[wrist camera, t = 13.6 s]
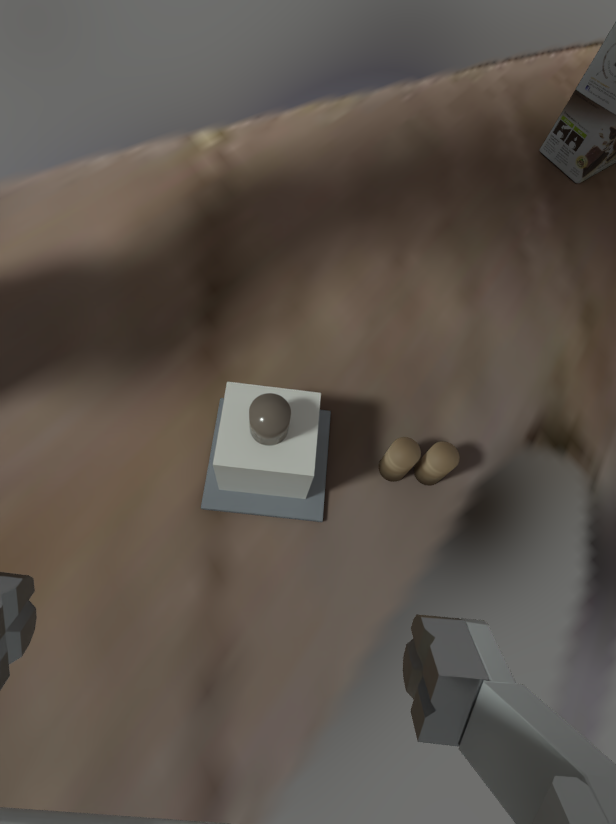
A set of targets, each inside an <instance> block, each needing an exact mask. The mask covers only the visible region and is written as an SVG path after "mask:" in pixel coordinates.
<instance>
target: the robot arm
mask: <svg viewBox="0 0 616 824" xmlns="http://www.w3.org/2000/svg"><path fill="white" fill-rule="evenodd" d="M34 591H35V589H34V580H33V578H32V577H30V576H29V575H21V574H13V573H5V572H0V690H1V689H2V687H3V685H4V684H5V682H6V681H7V679H8V678H9V676H10V672H9V664H11V663H12V662H14V661H15V660H17V659H19V658H20V657H22V656H23V654H24V652H25V651H26V649H27V647H28V646H29V644H30V641H31V638H32V636H33V633H34V630H35V625H36V608H35V606H34V605H33V604H32V603H31V602H30V601H29V599H30V597H31V596H32V594H33V593H34ZM411 631H412V635H413V639H412V640H411V641H410V642H408V643H407V644H406V648H405V652H404V657H403V677H404V683H405V688H406V691H407V693H408V694H409V695H410V696H411V697H412V698H413V699H414V701H413V704H412V708H411V715H412V719H413V723H414V728H415V732H416V736H417V740H418V742H424V743H433V744H442V745H450V746H459V750H460V751H461V753H462V754H463V755H464V756H465V758H466V759H467V760H468V762H469V763H470V764H471V766H472V767H473V768H474V770H475V771H476V772H477V773H478V775H479V776H480V777H481V779H482V780H483V781H484V783H485V784H486V785H487V787H488V788H489V789H490V791H491V792H492V793H493V794H494V796H495V797H496V798H497V800H498V801H499V802H500V804H501V805H502V806H503V808H504V809H505V810H506V812H507V813H508V814H509V815H510V817H511V818H512V819H513V821H514V822H515V823H516V824H616V764H615V763H614V762H612V760H610V759H609V758H608V757H607V756H606V755H604V754H603V753H602V752H601V751H600V750H599V749H598V748H596V747H595V746H594V745H593V744H592V743H591V742H589V741H588V740H587V739H586V738H585V737H584V736H582V735H581V734H580V733H579V732H578V731H577V730H576V729H574V728H573V727H572V726H571V725H570V724H569V723H567V722H566V721H565V720H564V719H563V718H562V717H560V716H559V715H558V714H557V713H556V712H555V711H553V710H552V709H551V708H550V707H549V706H548V705H547V704H545V703H544V702H543V701H542V700H541V699H539V698H538V697H537V696H536V695H535V694H534V693H533V692H531V691H530V690H529V689H528V688H527V687H526V686H524V685H523V684H516V682H515V680H514V678H513V676H512V673H511V671H510V670H509V667H508V665H507V663H506V661H505V659H504V657H503V655H502V652H501V650H500V648H499V647H498V644H497V642H496V640H495V638H494V636H493V634H492V632H491V629H490V627H489V625H488V623H486V622H485V621H484V620H476V619H464V618H462V619H459V618H448V617H437V616H426V615H416V617H415V618H414V620H413V623H412V626H411ZM0 824H229V823H215V822H201V821H187V820H173V819H159V818H145V817H131V816H117V815H103V814H89V813H75V812H61V811H47V810H33V809H19V808H5V807H0Z"/></svg>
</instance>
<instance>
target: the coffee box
mask: <svg viewBox="0 0 616 824" xmlns="http://www.w3.org/2000/svg"><path fill="white" fill-rule="evenodd" d="M540 152H541V153H542V154H543V155H544V156H546V157H547V158H548V159H549V160H550V161H551V162H553V163H554V164H555V165H556V166H557V167H558V168H559V169H560V170H562V171H563V172H564V173H565V174H566V175H567V176H568V177H570V178H571V179H572V180H573V181H574V182H575V183H580V182H582V181H584V180H586V179H587V178H589V177H591V176H593V175H594V174H596V173H598V172H600V171H602V170H603V169H605V168H607V167H609V166H610V165H612V164H614V163H616V22H615V24H614V26H613V27H612V29H611V31H610V32H609V34H608V36H607V37H606V39H605V41H604V43H603V44H602V46H601V47H600V49H599V51H598V53H597V54H596V56H595V58H594V59H593V61H592V62H591V64H590V66H589V68H588V69H587V71H586V73H585V74H584V76H583V78H582V79H581V81H580V83H579V84H578V86H577V88H576V90H575V91H574V93H573V95H572V96H571V98H570V100H569V101H568V103H567V105H566V106H565V108H564V110H563V111H562V113H561V115H560V116H559V118H558V120H557V121H556V123H555V125H554V127H553V128H552V130H551V132H550V133H549V135H548V137H547V138H546V140H545V142H544V143H543V145H542V146H541V148H540Z"/></svg>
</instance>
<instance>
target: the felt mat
mask: <svg viewBox="0 0 616 824" xmlns="http://www.w3.org/2000/svg"><path fill="white" fill-rule="evenodd" d="M223 403H224V398H220V404H219V409H218V415H217V420H216V426H215V432H214V437H213V443H212V449H211V454H210V460H209V466H208V471H207V477H206V482H205V488H204V494H203V499H202V505H201V509H205V510H214V511H224V512H233V513H242V514H252V515H261V516H271V517H280V518H289V519H299V520H308V521H317V522H322V521H323V509H324V496H325V482H326V468H327V455H328V441H329V428H330V414H331V411H326V410H319V422H318V434H317V446H316V458H315V470H314V477H313V480H312V483H311V486H310V488H309V491H308V494H307V496H306V499H300V498H291V497H282V496H273V495H264V494H255V493H245V492H236V491H227V490H219V487H218V483H217V479H216V475H215V472H214V468H213V460H214V455H215V449H216V443H217V437H218V432H219V426H220V420H221V414H222V409H223Z"/></svg>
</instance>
